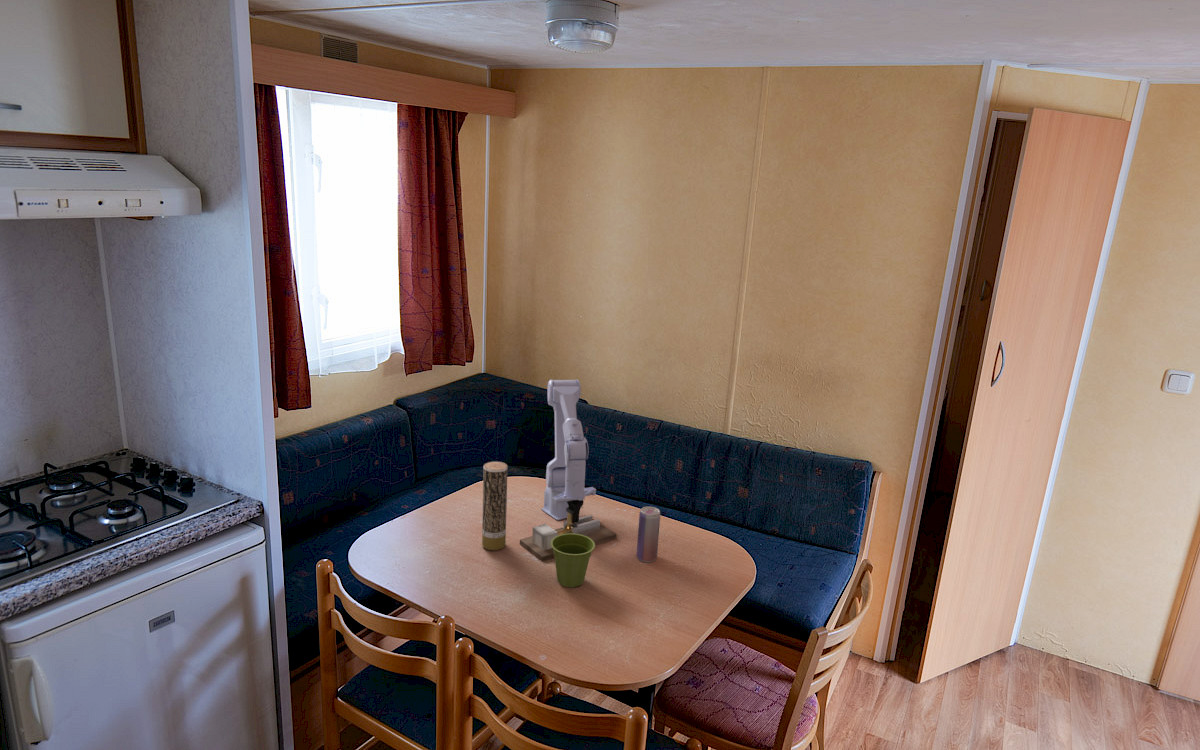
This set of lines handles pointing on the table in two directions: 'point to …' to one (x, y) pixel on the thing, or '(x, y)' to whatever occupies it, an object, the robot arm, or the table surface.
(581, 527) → the sleeve
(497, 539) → the brown tall cylinder
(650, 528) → the beverage can
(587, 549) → the plant pot
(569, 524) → the sliding latch bolt
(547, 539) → the socket block
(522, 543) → the base board
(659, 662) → the table surface
